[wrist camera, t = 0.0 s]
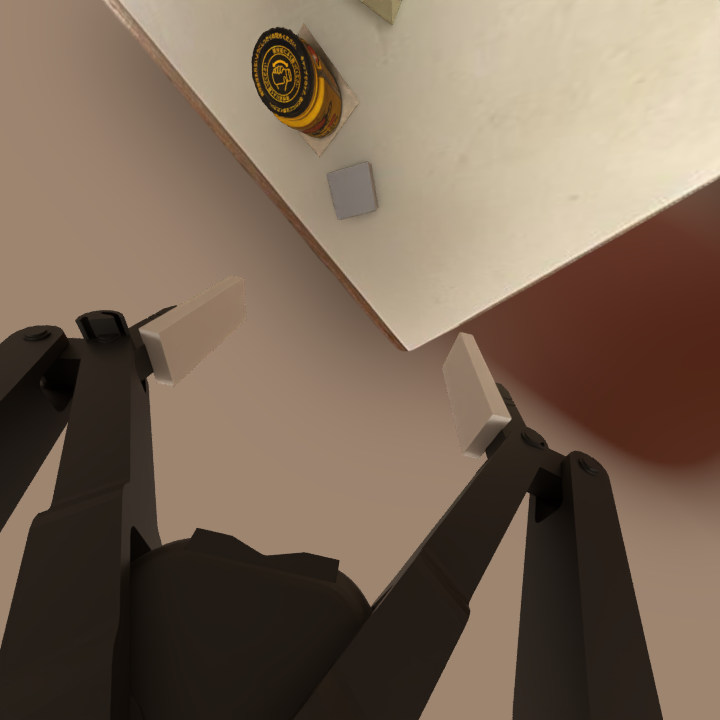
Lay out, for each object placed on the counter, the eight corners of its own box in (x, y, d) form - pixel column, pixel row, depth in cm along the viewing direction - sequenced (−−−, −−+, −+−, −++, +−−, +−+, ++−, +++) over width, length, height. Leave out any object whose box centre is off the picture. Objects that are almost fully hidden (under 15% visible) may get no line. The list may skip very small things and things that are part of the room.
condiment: (319, 157, 34) (288, 148, 24) (267, 93, 31) (207, 53, 21) (359, 102, 31) (341, 66, 21) (304, 24, 28) (253, -60, 18)
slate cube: (334, 174, 35) (326, 173, 31) (371, 163, 34) (367, 161, 30) (344, 215, 38) (337, 220, 34) (378, 207, 36) (375, 210, 32)
